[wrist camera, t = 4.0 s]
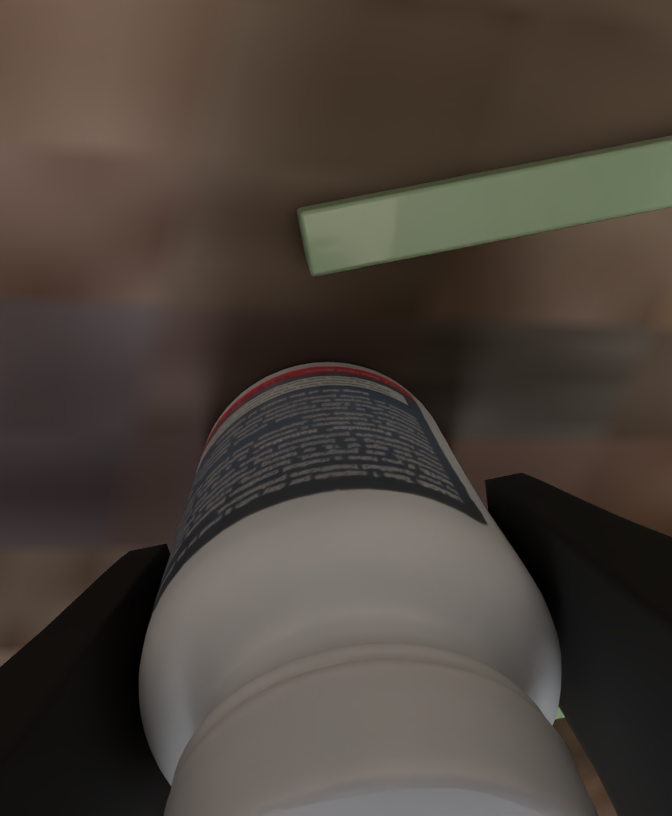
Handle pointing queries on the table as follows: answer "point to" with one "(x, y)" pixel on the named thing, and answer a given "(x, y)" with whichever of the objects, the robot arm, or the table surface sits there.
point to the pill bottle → (348, 622)
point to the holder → (487, 208)
